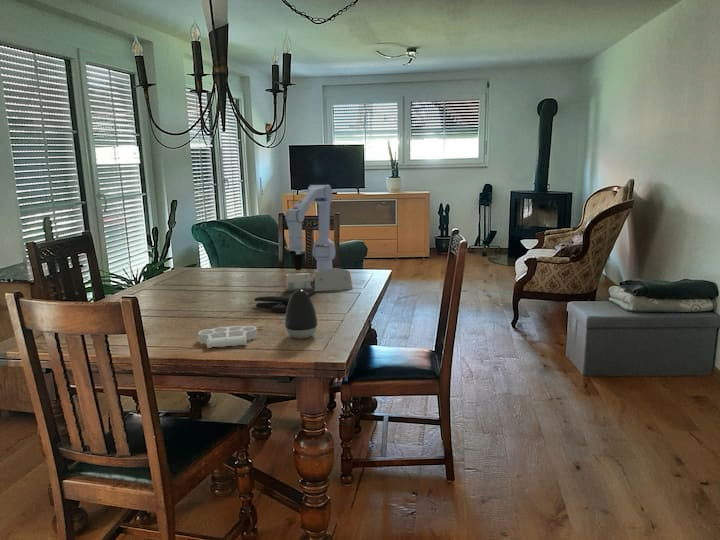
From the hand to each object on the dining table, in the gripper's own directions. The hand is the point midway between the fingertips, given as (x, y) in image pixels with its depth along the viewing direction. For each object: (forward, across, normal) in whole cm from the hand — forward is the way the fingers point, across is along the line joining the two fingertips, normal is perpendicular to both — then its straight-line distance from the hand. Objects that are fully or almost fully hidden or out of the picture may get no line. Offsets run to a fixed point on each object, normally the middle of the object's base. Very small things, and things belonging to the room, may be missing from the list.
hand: (297, 268), depth 235 cm
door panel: (+8, +1, 0) cm, 8 cm away
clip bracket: (+9, +1, 0) cm, 9 cm away
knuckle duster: (+10, +63, -30) cm, 70 cm away
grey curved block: (+10, +2, +15) cm, 18 cm away
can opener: (+10, +28, -13) cm, 33 cm away
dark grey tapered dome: (+10, +66, -7) cm, 67 cm away
